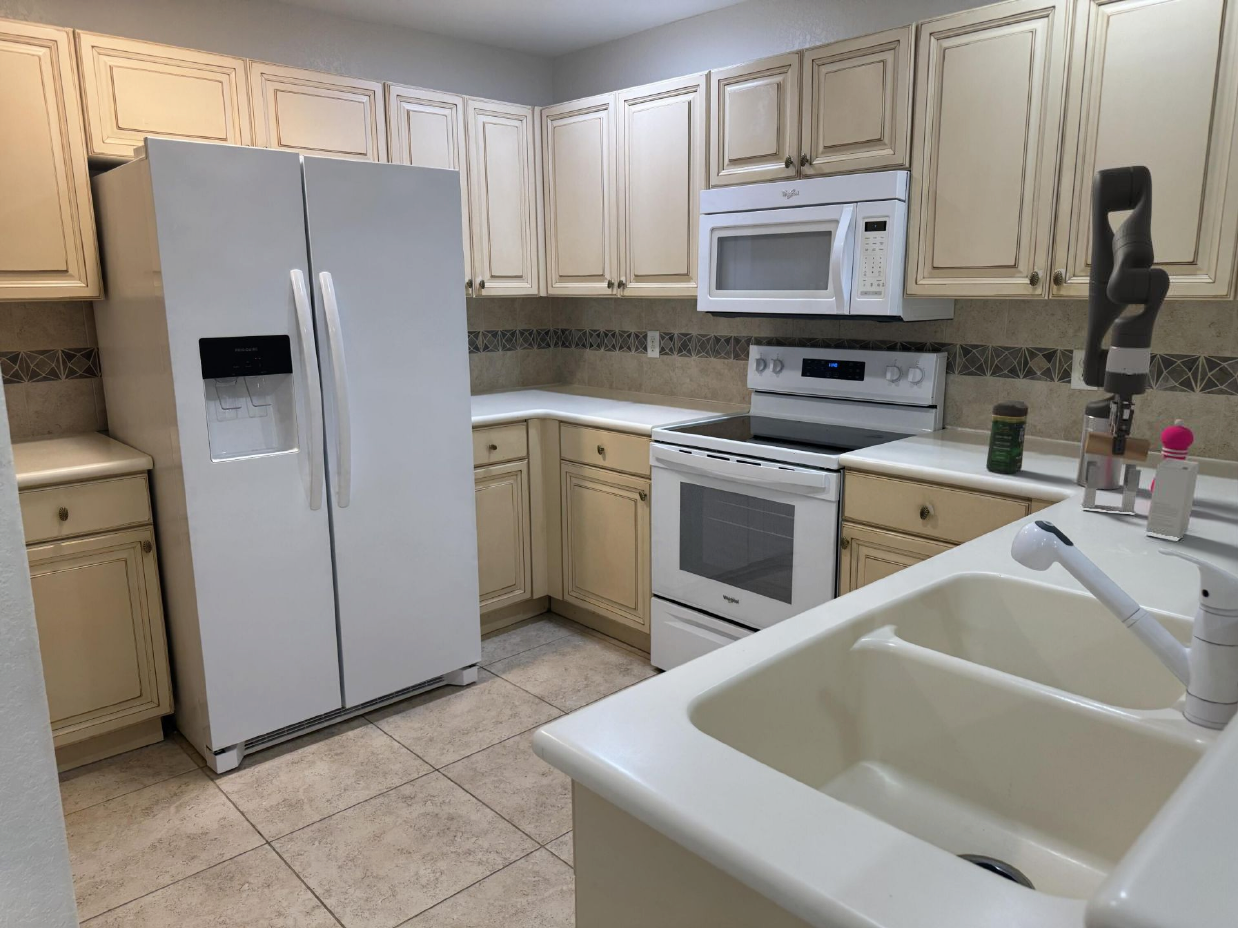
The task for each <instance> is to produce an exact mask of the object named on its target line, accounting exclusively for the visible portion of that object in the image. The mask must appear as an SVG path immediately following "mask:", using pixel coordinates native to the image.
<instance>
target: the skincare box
mask: <svg viewBox="0 0 1238 928" xmlns="http://www.w3.org/2000/svg"><path fill="white" fill-rule="evenodd" d="M1199 468H1200V463H1199V462H1198V461H1192V460H1191V461H1190V460H1187V459H1185V460H1178V459H1173V458H1166V459H1164V460H1162V461H1160V462H1159V463H1158V464H1157V465H1156V469H1155V470H1156V471H1155V476H1154V478H1155V482H1154V487H1153V493H1152V492H1151V493H1152V494H1151V499H1150V507H1149V510H1148V511H1149V512H1148V518H1147V522H1146V523H1147V524H1146V529H1145V530H1146V531H1147V532H1153V533H1156V534H1161V535H1165V536H1173V537H1177V538H1181V537H1182V536H1183V535H1184V534H1185V533H1186V532H1187V533H1188V531H1189V524H1190V518H1191V513H1192V507H1193V501H1194V496H1195V490H1196V484H1197V478H1198V472H1199ZM1146 531H1145V532H1146ZM1187 533H1186V534H1187ZM1186 534H1185V535H1186ZM1185 535H1184V536H1185ZM1184 536H1183V537H1184ZM1183 537H1182V538H1183Z"/></svg>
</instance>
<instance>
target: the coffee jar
mask: <svg viewBox="0 0 1238 928" xmlns="http://www.w3.org/2000/svg"><path fill="white" fill-rule="evenodd" d="M1028 413H1029V405H1027V404H1026V403H1025V402H1024V401H1020V400H1007V401H1003V402H998V403H997V404H994V405H993V406H992V412H991V427H990V435H989V443H988V451H987V458H986V466H985V467H986V470H988V471H992V472H993V473H997V472H998V473H999V474H1003V473H1006V474H1007V473H1008V474H1013V473H1017V472H1019V471H1021V470H1022V467H1023V457H1024V456H1023V455H1024V445H1025V435H1026V428H1027V421H1028V415H1029V414H1028Z"/></svg>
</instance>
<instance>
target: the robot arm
mask: <svg viewBox="0 0 1238 928" xmlns="http://www.w3.org/2000/svg"><path fill="white" fill-rule="evenodd" d="M1091 187H1092V188H1091V217H1092V218H1091V225H1092V226H1091V229H1092V231H1091V232H1092V239H1091V255H1090V265H1089V266H1090V268H1089V276H1088V277H1089V279H1088V312H1087V318H1088V319H1087V331H1086V341H1085V346H1084V347H1085V349H1084V355H1083V366H1082V379H1083V383H1084V384H1085V385H1086V387H1087V386H1088V387H1091V388H1093V387H1094V388H1102V389H1103V391H1104V392H1105V393H1108V394H1112V395H1111V396H1109V397H1106V398H1103V399H1100V400H1095V401H1090V402H1089V403H1086V405H1085V407H1084V408H1085V409H1084V419H1083V425H1082V426H1083V427H1082V433H1081V434H1082V435H1081V441H1080V444H1081V445H1080V452H1079V460H1078V465H1077V466H1078V467H1077V474H1076V482H1075V483H1076V484H1077V485H1078V486H1081V487H1085V474H1086V465H1087V460H1089V461H1098V463H1097V466H1100V467H1101V468H1100V476H1099V484H1098V489H1097V490H1115V489H1119V487H1120V482H1121V481H1120V480H1121V473H1122V466H1123V460H1124V459H1123V458H1116V457H1109V456H1102V455H1096V454H1089V453H1085V451H1084V447H1085V442H1086V438H1087V433H1088V431H1089V432H1096V433H1103V434H1111V435H1114V438H1113V446H1112V454H1113V455H1121V456H1122V455H1124V453H1125V445H1126V437H1130V434H1131V429H1132V426H1133V425H1132V424H1133V417H1134V414H1135V409H1136V403H1134V401H1133V397H1134V396H1135V395H1136V396H1139V395H1144V394H1146V393H1147V388H1148V387H1147V386H1148V380H1149V372H1150V366H1151V365H1150V364H1151V345H1152V340H1153V339H1152V338H1153V331H1154V327H1155V323H1156V319H1157V316H1158V315H1159V311H1160V309H1161V307H1162V305H1163V303H1164V301H1165V299H1166V296H1167V294H1168V292H1169V289H1170V286H1171V285H1170V284H1171V280H1170V276H1169V274H1168V272H1167V271H1166V270H1165V269H1163V268H1156V267H1154V268H1153V267H1152V266H1153V265H1154V262H1155V252H1154V246H1153V245H1154V244H1153V241H1152V232H1151V231H1152V217H1153V216H1152V215H1153V211H1152V209H1153V181H1152V174H1151V172H1150V169H1149V168H1148V167H1147V166H1145V165H1130V166H1122V167H1114V168H1105V169H1100V170H1098V171H1097V172H1096V173H1095V175H1094V176H1093V180H1092V186H1091ZM1124 211H1125V212H1126V211H1127V212H1128V211H1132V212H1130V215H1128V216H1127V218H1126V219H1125V220H1124V221H1123V222H1122V223H1121V225H1120V226H1119V227H1118V229H1117V230H1116V231H1115V232H1114V231H1113V230H1114V229H1112V226H1111V224H1110V221H1109V213H1115V212H1124ZM1130 305H1143V307H1142V309H1140V311H1139V312H1138V313H1136V314H1130V315H1125V316H1122V314H1123V313H1124V312H1125V311H1126V309H1127V308H1128V307H1129V306H1130ZM1120 316H1121V317H1120ZM1111 327H1112V328H1111ZM1110 328H1111V335H1110V336H1111V337H1110V344H1109V345H1110V346H1109V348H1102V345H1103V344H1102V343H1103V340H1104V339H1105V337H1106V335H1107V333H1108V332H1109V330H1110Z"/></svg>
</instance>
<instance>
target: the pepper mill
mask: <svg viewBox="0 0 1238 928" xmlns="http://www.w3.org/2000/svg"><path fill="white" fill-rule="evenodd" d="M1173 424H1174V425H1172V426H1168V427H1167V428H1164V430H1163V431H1162V432H1161V434H1160V441H1161V443H1162V444H1163V447H1162V448H1161V449H1162V450H1161V454H1162V455H1163V458H1162V459H1163V460H1164V459H1166V458H1173V459H1178V460H1186V458H1187V457H1188V456H1189V452H1190V450H1189V447H1190V446H1192V444H1193V443H1194V439H1195V438H1194V433H1193V432H1192V431H1191V429H1189V428H1188V427H1185V426H1184V424H1185V421H1184V420H1183V419H1181V418H1178V419H1176V420H1175V421H1174V423H1173ZM1163 460H1162V461H1163ZM1154 482H1155V477H1154V478H1153V480H1152V481H1151V485H1150V491H1151V493H1153V487H1154Z"/></svg>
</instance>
